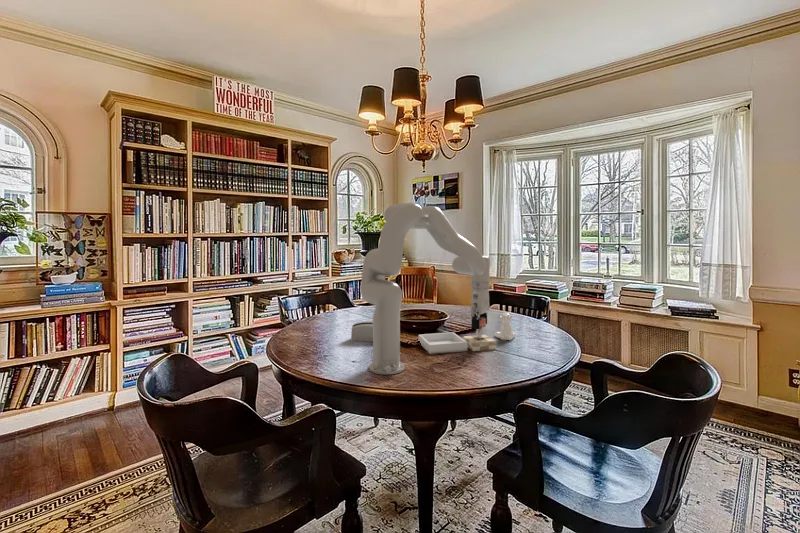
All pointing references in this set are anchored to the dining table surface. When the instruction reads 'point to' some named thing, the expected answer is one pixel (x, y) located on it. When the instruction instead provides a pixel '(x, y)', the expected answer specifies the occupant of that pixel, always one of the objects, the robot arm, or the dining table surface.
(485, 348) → the block
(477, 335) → the handwheel pin
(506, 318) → the white creature statuette
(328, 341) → the dining table surface
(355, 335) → the grey arched block
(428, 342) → the tray
